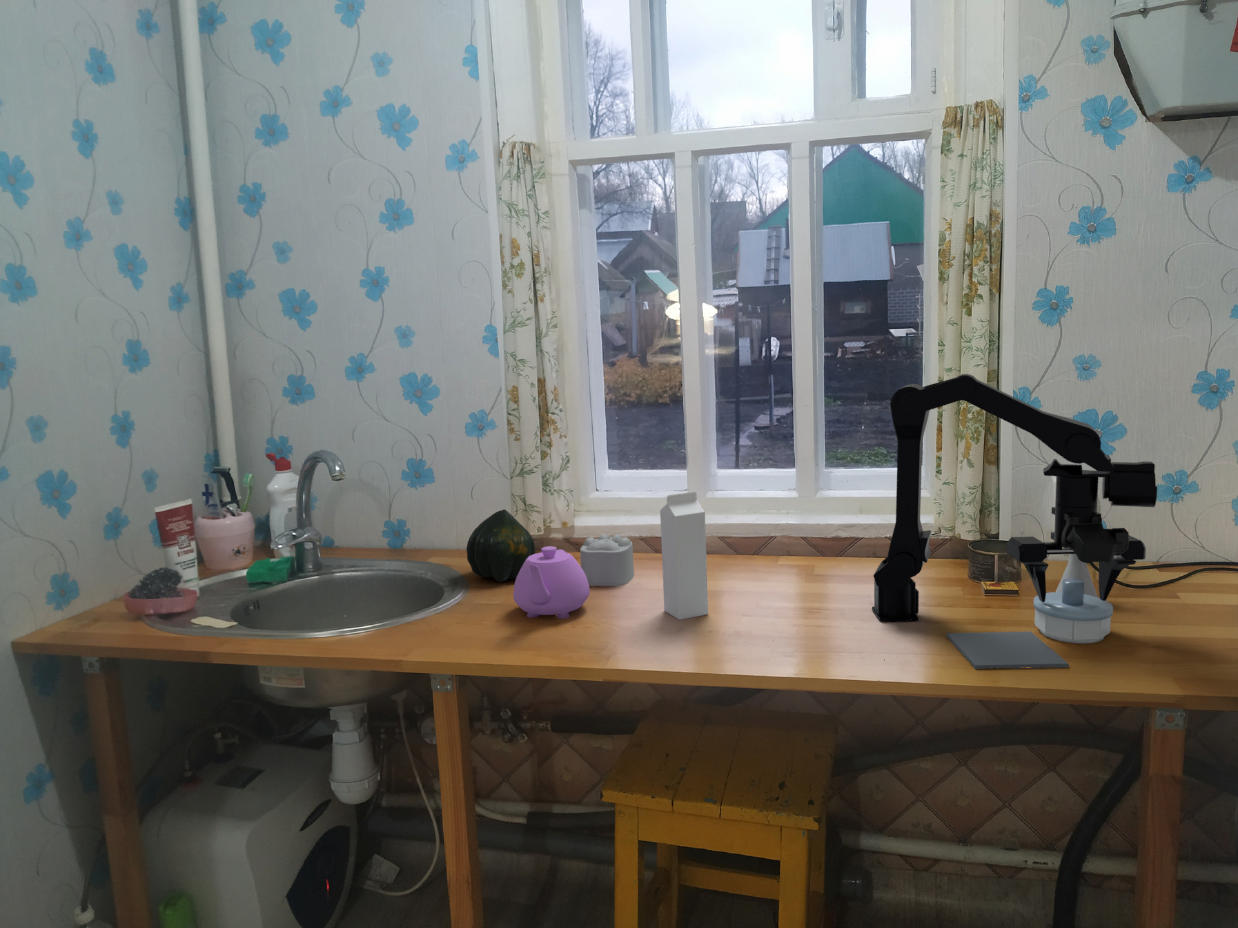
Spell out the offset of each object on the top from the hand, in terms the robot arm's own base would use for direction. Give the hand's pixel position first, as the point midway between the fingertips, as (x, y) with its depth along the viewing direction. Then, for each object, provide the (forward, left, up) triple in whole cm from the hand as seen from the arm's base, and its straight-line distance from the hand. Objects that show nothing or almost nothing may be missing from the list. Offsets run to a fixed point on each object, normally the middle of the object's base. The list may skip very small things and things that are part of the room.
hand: (1072, 600), depth 131 cm
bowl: (0, 0, -5) cm, 5 cm away
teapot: (-86, +16, -6) cm, 88 cm away
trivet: (-13, -7, -5) cm, 16 cm away
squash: (-100, +40, -6) cm, 108 cm away
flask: (+8, +16, -6) cm, 19 cm away
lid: (0, 0, -1) cm, 1 cm away
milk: (-61, +14, -6) cm, 63 cm away
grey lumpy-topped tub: (-77, +38, -6) cm, 86 cm away
